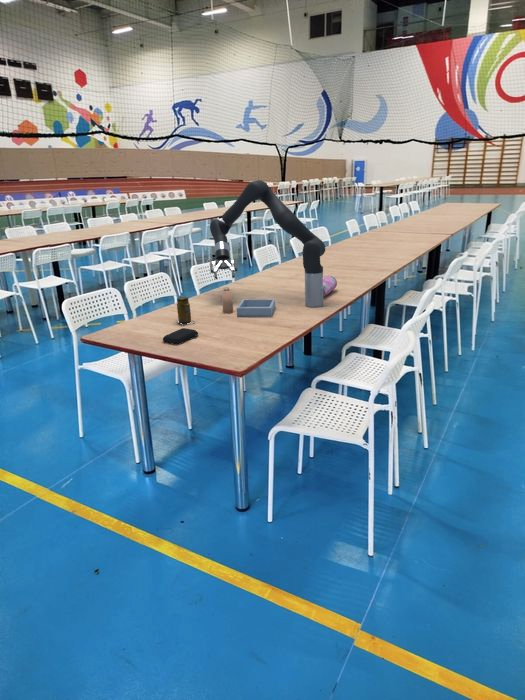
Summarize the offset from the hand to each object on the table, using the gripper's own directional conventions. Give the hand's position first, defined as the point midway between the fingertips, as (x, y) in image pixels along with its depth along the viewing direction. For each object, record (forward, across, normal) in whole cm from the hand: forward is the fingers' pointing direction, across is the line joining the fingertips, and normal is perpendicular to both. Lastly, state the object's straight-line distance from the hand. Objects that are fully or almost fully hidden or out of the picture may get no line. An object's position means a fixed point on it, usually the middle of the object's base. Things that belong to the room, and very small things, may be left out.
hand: (224, 278), depth 248 cm
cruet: (+18, 0, +3) cm, 18 cm away
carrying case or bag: (+44, -22, -22) cm, 54 cm away
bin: (+22, +14, -1) cm, 26 cm away
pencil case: (+5, +55, +17) cm, 57 cm away
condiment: (+27, -21, -6) cm, 35 cm away
